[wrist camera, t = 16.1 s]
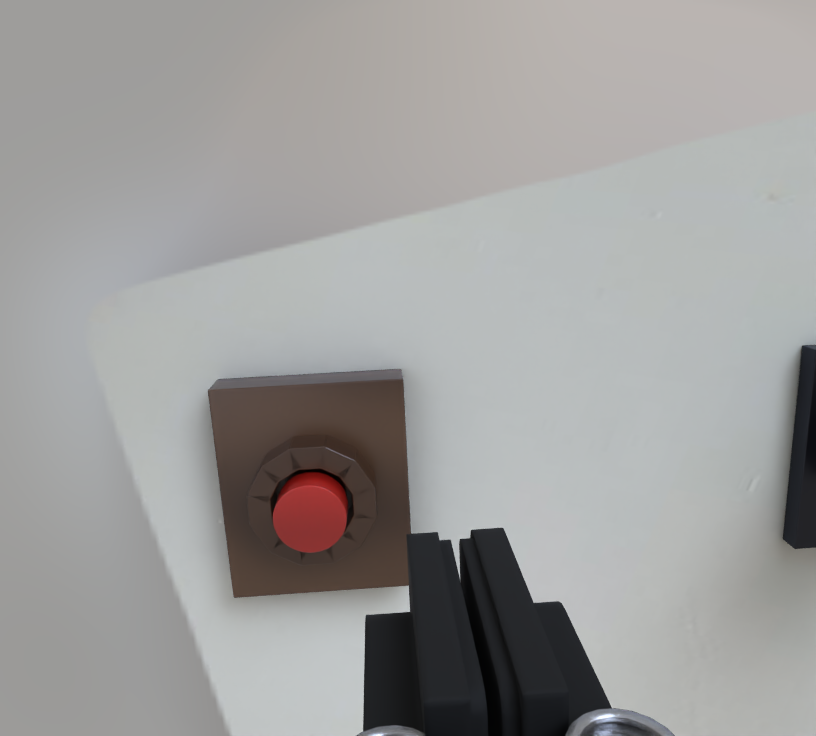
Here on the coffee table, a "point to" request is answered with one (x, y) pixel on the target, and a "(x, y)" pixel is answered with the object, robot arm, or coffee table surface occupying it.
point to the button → (311, 512)
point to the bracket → (803, 460)
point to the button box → (313, 452)
